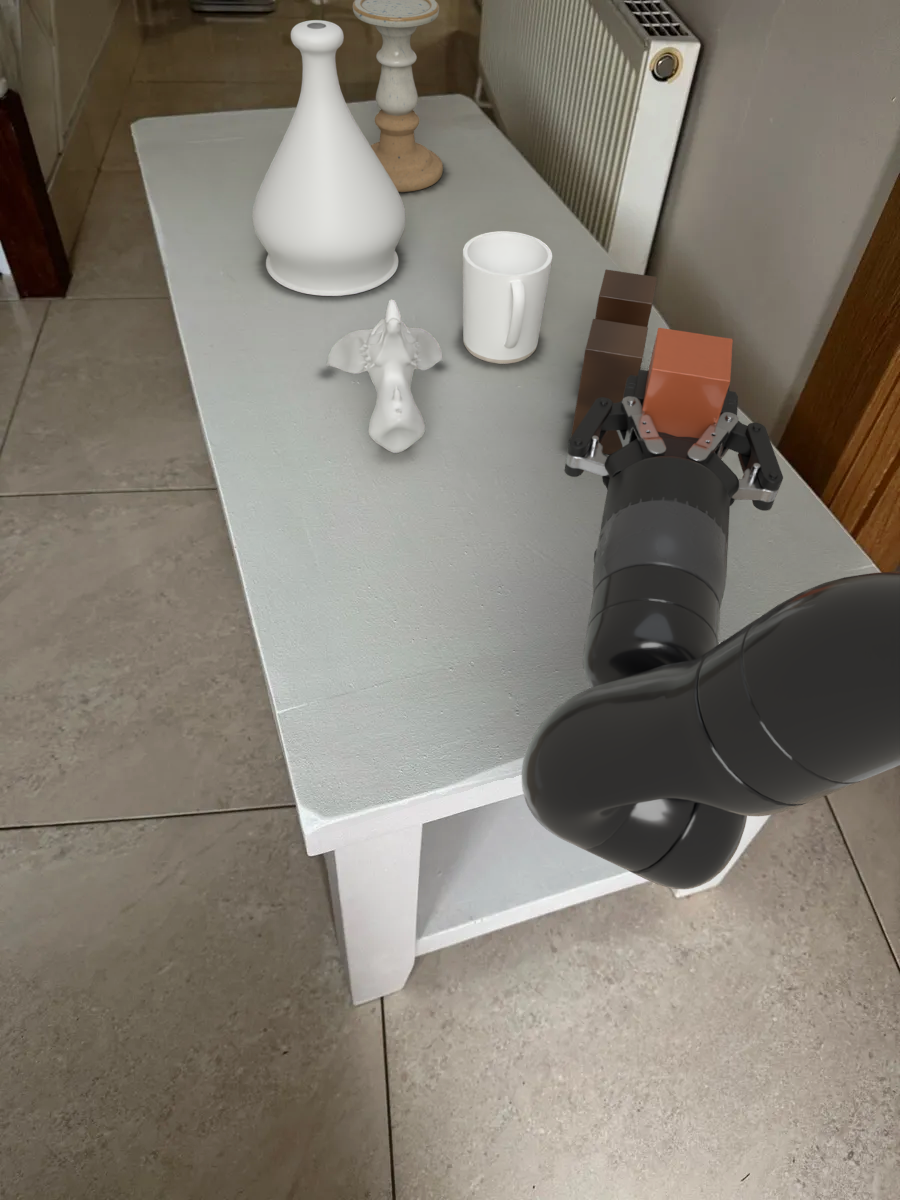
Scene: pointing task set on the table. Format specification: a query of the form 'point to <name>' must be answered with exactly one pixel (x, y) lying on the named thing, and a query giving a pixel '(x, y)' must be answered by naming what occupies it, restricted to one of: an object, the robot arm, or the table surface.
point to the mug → (504, 295)
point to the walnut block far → (626, 298)
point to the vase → (327, 187)
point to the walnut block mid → (608, 369)
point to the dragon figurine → (390, 374)
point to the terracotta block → (687, 381)
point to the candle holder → (400, 91)
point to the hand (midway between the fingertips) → (680, 387)
